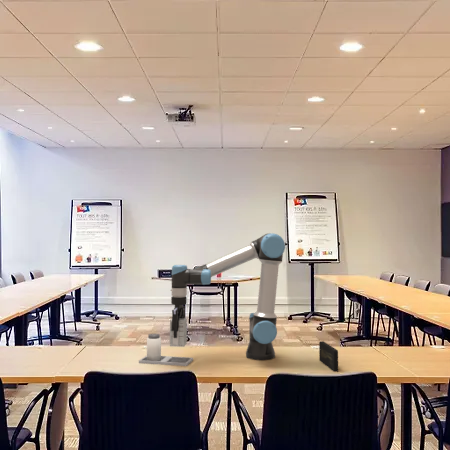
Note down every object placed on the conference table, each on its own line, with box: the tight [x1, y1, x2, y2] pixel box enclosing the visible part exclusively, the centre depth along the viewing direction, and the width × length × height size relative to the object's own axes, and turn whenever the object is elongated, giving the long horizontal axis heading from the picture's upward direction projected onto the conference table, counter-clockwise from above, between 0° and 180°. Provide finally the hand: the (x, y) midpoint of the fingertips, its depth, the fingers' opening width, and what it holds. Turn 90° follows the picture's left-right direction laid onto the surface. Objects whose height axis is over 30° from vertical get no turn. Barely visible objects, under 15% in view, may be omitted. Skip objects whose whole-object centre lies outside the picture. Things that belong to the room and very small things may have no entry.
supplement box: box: [169, 317, 188, 348], centre depth 251 cm, size 7×7×13 cm
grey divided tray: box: [138, 355, 194, 367], centre depth 252 cm, size 24×11×2 cm, turn 77°
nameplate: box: [318, 340, 339, 372], centre depth 249 cm, size 21×2×10 cm, turn 9°
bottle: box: [146, 333, 162, 361], centre depth 254 cm, size 7×7×13 cm
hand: (178, 342), depth 251 cm, fingers closed on supplement box, 8 cm apart
